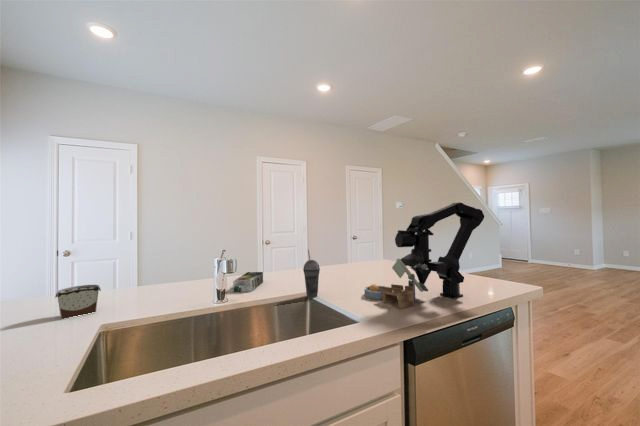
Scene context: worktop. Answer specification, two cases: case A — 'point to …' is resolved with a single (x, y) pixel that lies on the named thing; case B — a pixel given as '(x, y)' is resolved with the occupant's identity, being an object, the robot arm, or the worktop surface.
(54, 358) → the worktop surface
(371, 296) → the bowl
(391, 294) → the ramp
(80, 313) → the food container
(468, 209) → the robot arm
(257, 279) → the juice carton
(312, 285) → the beverage cup
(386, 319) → the worktop surface
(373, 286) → the ball
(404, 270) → the lever
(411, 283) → the lever post
